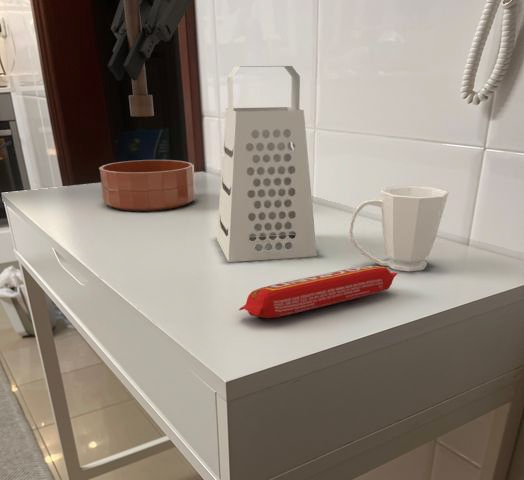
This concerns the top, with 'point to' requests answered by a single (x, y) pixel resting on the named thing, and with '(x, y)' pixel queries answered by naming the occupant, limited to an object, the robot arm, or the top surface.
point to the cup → (407, 224)
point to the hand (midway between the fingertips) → (122, 72)
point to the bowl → (147, 184)
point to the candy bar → (317, 291)
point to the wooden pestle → (140, 100)
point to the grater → (265, 180)
